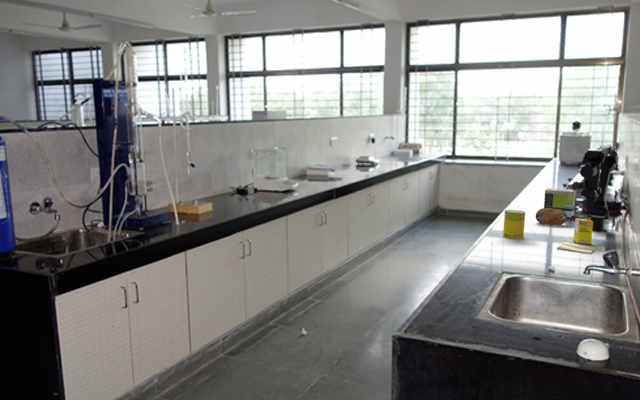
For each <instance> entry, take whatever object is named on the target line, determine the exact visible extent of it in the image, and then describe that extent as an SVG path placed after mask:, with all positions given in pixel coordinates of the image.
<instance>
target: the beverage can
mask: <svg viewBox="0 0 640 400" xmlns="http://www.w3.org/2000/svg"><path fill="white" fill-rule="evenodd" d="M525 219H526V211H524V210H519V209H506V210H504V217H503V233H502V236H503V237H504V238H507V239H512V240H513V239H514V240H515V239H516V240H517V239H518V240H519V239H520V238H521V239H523V238H524V235H525V234H524V232H525V222H526V221H525ZM521 239H520V240H521Z"/></svg>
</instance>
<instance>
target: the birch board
mask: <svg viewBox="0 0 640 400" xmlns="http://www.w3.org/2000/svg"><path fill="white" fill-rule="evenodd" d="M556 249H557V250H561V249H562V251H567V250H568V251H569V252H575V253H580V254H581V253H582V254H586V255H591V254H592V253H593V252H594V251H595V250H596V249H597V246H596V245H592V244H591V245H584V244H577V243H575V242H568V241H564V242H562V243H561V244H560V245H559V246H557V248H556Z"/></svg>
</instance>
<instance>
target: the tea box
mask: <svg viewBox="0 0 640 400" xmlns="http://www.w3.org/2000/svg"><path fill="white" fill-rule="evenodd" d="M576 191H577V190H575V191H573V189H568V188H567V189H566V188H565V189H564V188H546V189H545V190H544V202H543V208H548V209H561V210H563V211H564V212H565V213H566V214H567V218H572V216H575V207H576V206H575V205H576V204H575V203H576V195H577V194H576Z"/></svg>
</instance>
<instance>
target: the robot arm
mask: <svg viewBox="0 0 640 400" xmlns="http://www.w3.org/2000/svg"><path fill="white" fill-rule="evenodd" d="M599 146H600V147H597V148H596V149H590V148H589V149H587V150H586V151H585V153H584V156H583V159H582V163H581V164H582V165H584V166H582V167H581V168H580V170H579V175H581V177H582V178H584V179H583V181H574V182H572V184H571V185H570V186H571V188H572V189H571V190H573V191H575V190H576V191H577V190H581V191H580V196H581V197H583V198H585V199H586V205H587V211H586V212H587V213H586V214H587V216H586V217H587V219H590V220H591V221H593V229H592V232H596V233H597V232H598V233H600V232H606V231H607V229H606V228H605V222H606V220H610V214H609V212H610V211H609V209H608V205H607V201H606V196H607V192H608V187H609V183H610V182H609V181H610V177H611V173H612V172H613V171H614V170H615V169H616V168H617V165H618V164H619V155H618V152H617V151H616V150H614V149H613V146H611V145H599Z"/></svg>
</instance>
